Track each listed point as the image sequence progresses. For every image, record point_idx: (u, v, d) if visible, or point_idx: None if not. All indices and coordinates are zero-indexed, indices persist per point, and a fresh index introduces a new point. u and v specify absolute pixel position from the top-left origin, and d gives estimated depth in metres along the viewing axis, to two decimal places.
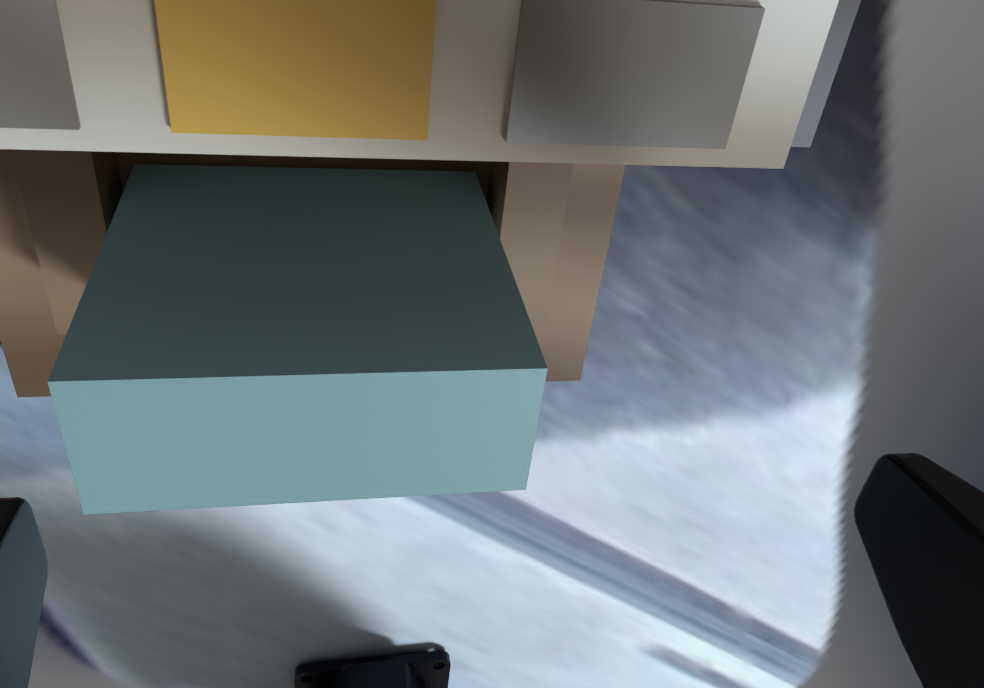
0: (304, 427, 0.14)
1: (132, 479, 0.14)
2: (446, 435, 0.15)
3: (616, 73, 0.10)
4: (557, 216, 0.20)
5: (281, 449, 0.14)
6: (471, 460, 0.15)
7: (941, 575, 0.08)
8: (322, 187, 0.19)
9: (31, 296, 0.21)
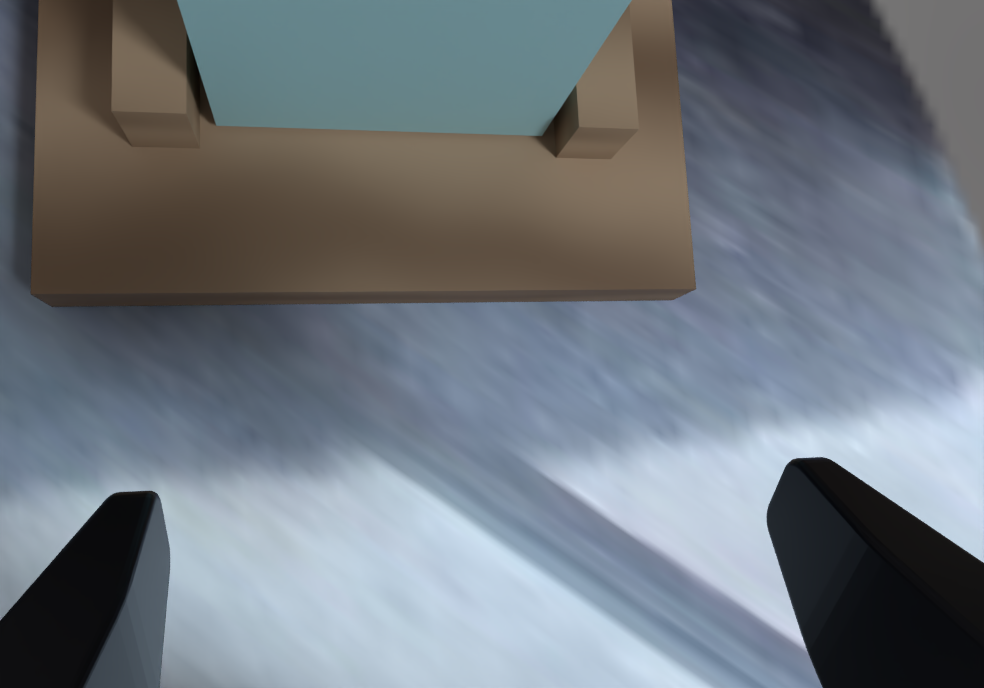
0: None
1: None
2: None
3: None
4: None
5: None
6: None
7: (841, 583, 0.08)
8: None
9: (82, 156, 0.19)
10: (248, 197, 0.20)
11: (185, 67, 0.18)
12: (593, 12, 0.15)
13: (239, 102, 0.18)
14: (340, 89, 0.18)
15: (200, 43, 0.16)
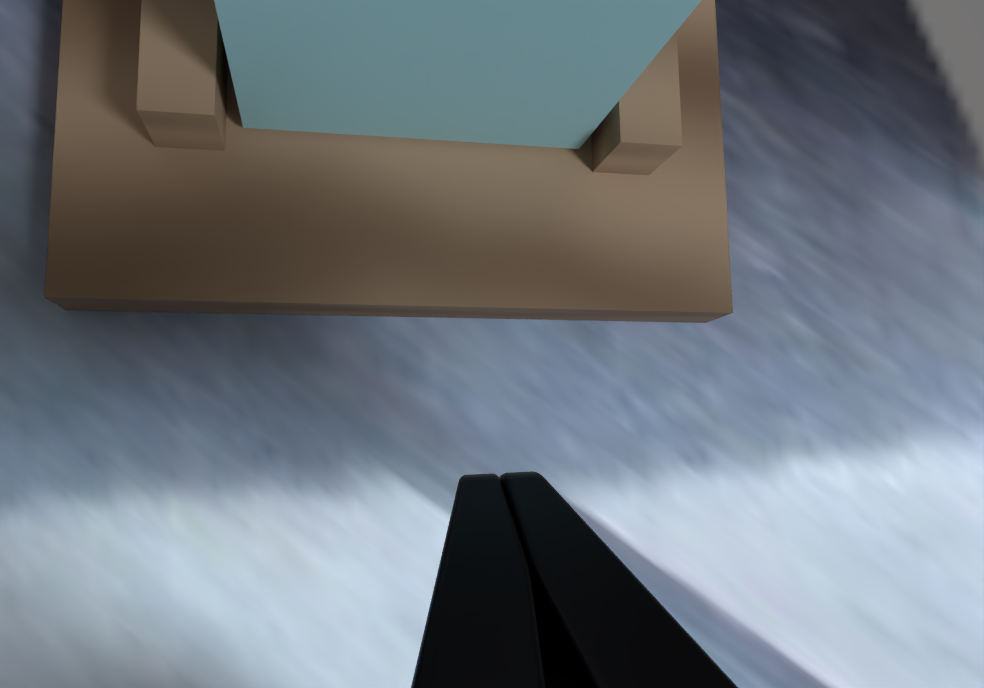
0: None
1: None
2: None
3: None
4: None
5: None
6: None
7: None
8: None
9: (103, 154, 0.18)
10: (274, 203, 0.19)
11: (215, 66, 0.17)
12: (649, 24, 0.15)
13: (269, 104, 0.18)
14: (375, 95, 0.17)
15: (234, 43, 0.15)
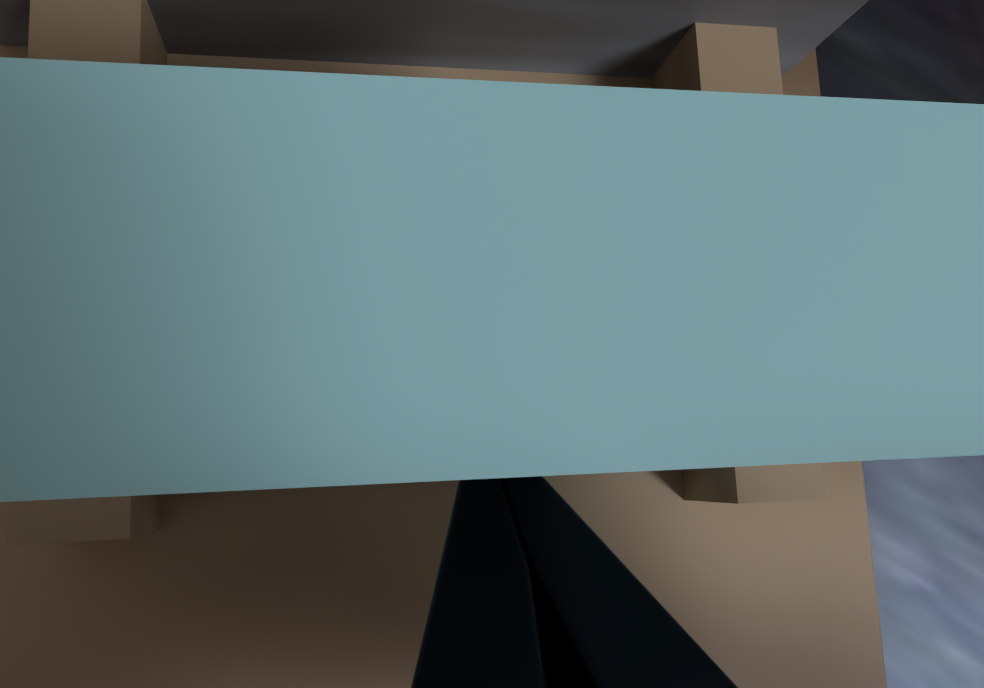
0: (542, 226, 0.06)
1: (126, 374, 0.05)
2: (846, 271, 0.07)
3: None
4: None
5: (494, 290, 0.06)
6: (913, 350, 0.07)
7: None
8: None
9: None
10: (233, 601, 0.13)
11: None
12: None
13: None
14: None
15: None
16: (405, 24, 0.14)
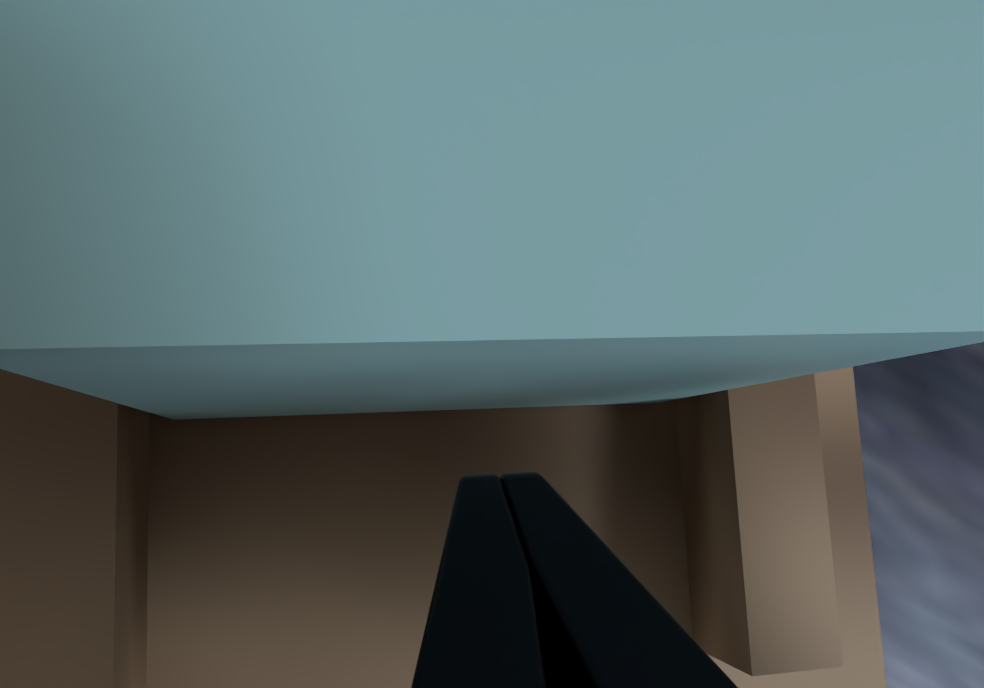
0: (528, 89, 0.06)
1: (98, 224, 0.05)
2: (840, 144, 0.06)
3: None
4: (812, 452, 0.13)
5: (479, 152, 0.06)
6: (907, 226, 0.07)
7: None
8: None
9: None
10: None
11: (111, 660, 0.11)
12: (827, 363, 0.09)
13: (206, 412, 0.12)
14: (365, 403, 0.11)
15: (126, 400, 0.09)
16: None
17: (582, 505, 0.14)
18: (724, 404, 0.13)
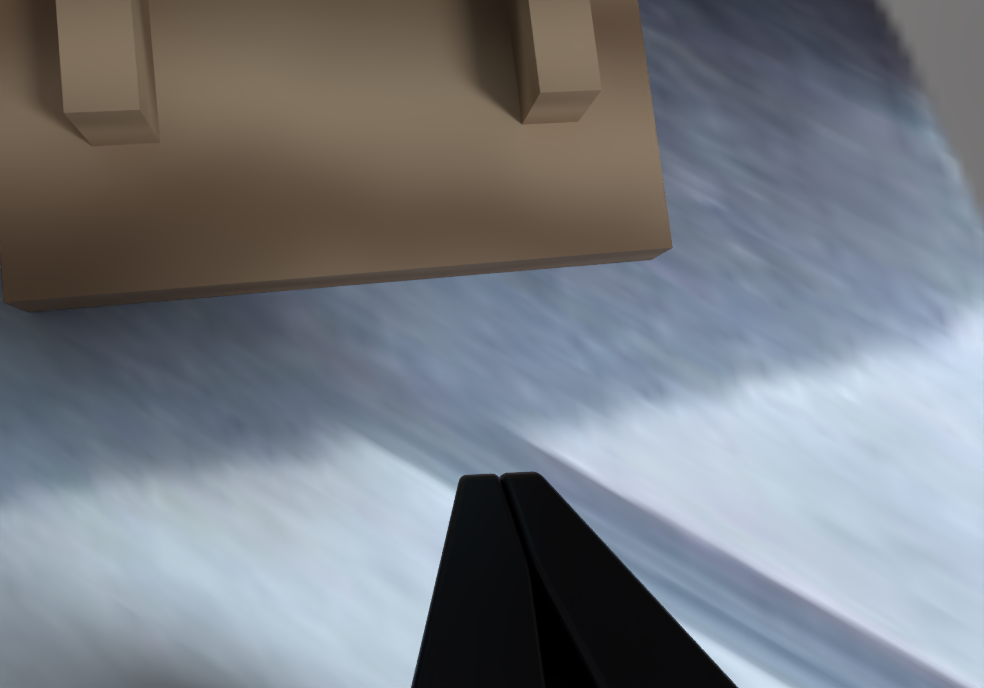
0: None
1: None
2: None
3: None
4: None
5: None
6: None
7: None
8: None
9: (42, 159, 0.19)
10: (213, 188, 0.20)
11: (134, 62, 0.18)
12: None
13: None
14: None
15: None
16: None
17: (440, 34, 0.21)
18: None
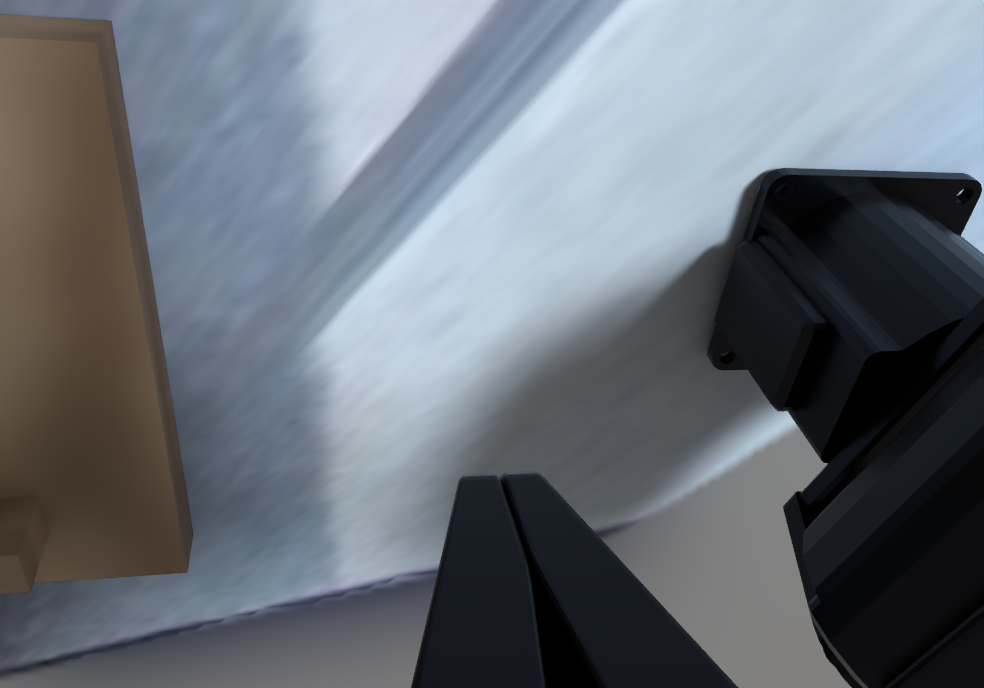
0: None
1: None
2: None
3: None
4: None
5: None
6: None
7: None
8: None
9: (66, 557, 0.24)
10: (76, 465, 0.22)
11: None
12: None
13: None
14: None
15: None
16: None
17: None
18: None
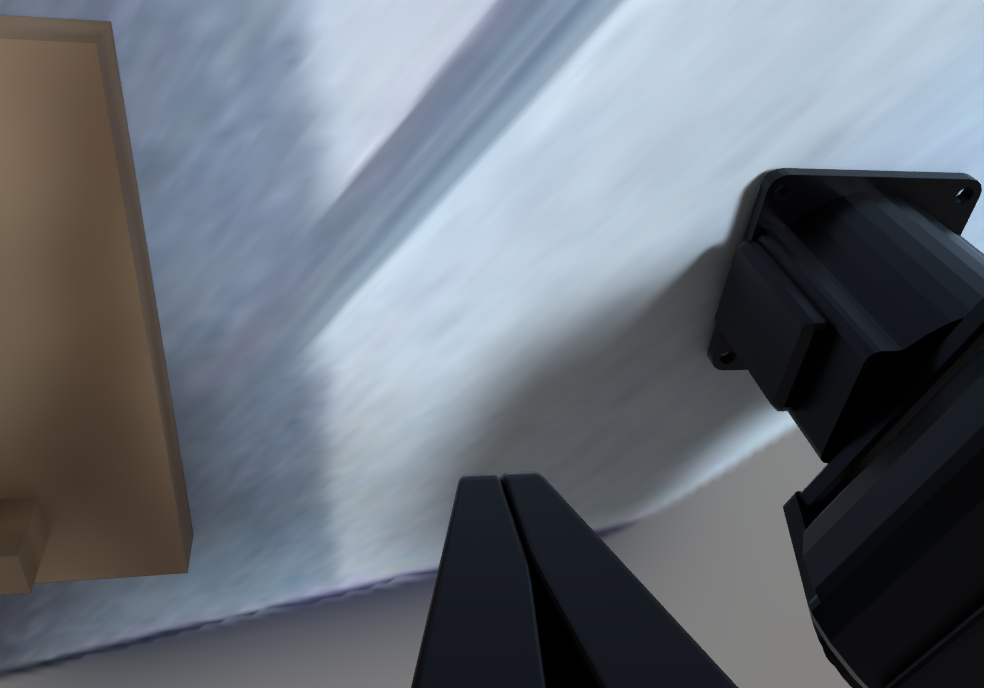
0: None
1: None
2: None
3: None
4: None
5: None
6: None
7: None
8: None
9: (66, 558, 0.24)
10: (77, 466, 0.22)
11: None
12: None
13: None
14: None
15: None
16: None
17: None
18: None
